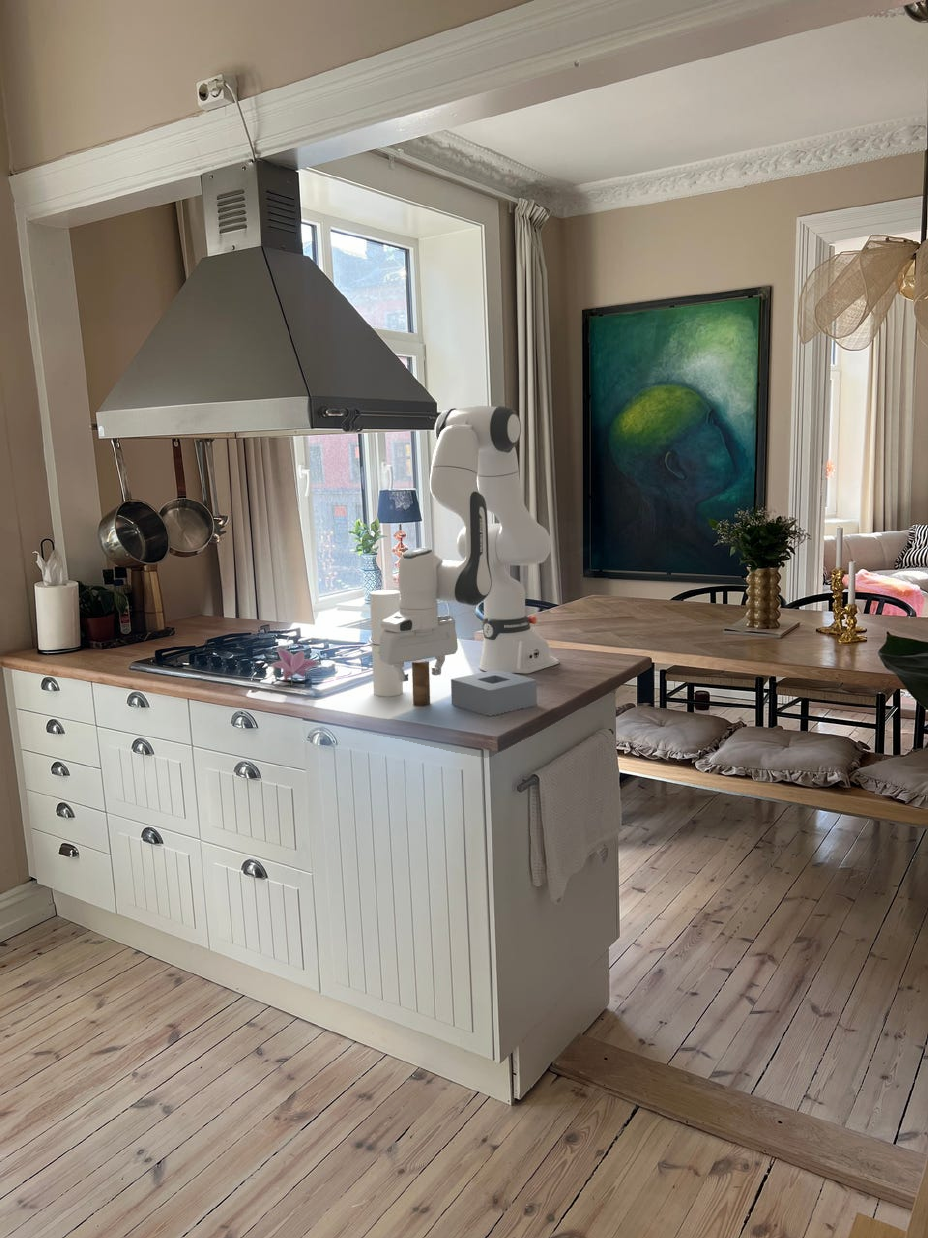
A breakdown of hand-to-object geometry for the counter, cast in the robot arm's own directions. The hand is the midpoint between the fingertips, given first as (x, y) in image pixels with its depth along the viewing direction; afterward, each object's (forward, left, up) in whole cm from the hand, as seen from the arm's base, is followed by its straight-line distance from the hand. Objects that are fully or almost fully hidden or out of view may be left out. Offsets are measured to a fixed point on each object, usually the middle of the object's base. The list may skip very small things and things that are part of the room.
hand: (420, 677), depth 215 cm
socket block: (-12, +12, -6) cm, 18 cm away
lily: (+12, -40, -7) cm, 42 cm away
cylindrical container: (0, -14, -7) cm, 16 cm away
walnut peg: (0, 0, -6) cm, 6 cm away
